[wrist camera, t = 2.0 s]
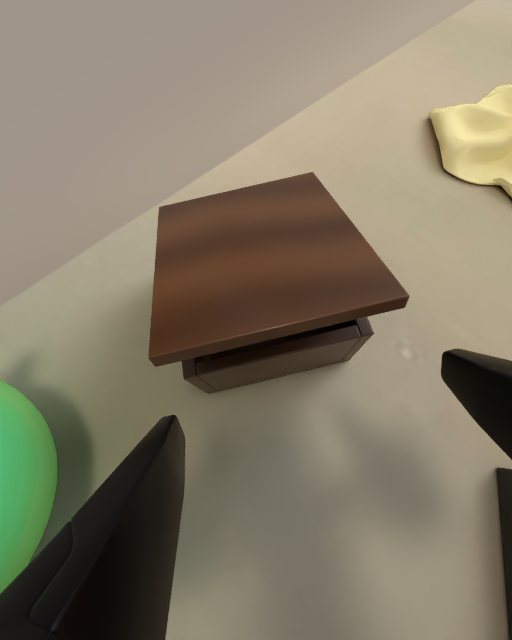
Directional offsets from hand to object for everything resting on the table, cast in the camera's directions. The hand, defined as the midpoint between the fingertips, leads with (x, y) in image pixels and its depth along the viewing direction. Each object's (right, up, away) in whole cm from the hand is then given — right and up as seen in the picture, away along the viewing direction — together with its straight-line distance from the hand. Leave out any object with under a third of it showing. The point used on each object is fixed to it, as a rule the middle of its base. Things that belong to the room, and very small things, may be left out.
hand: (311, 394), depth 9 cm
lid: (-2, +6, +8) cm, 11 cm away
